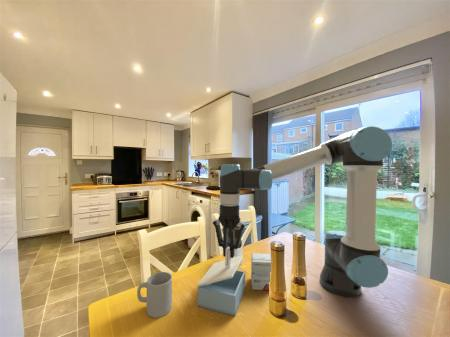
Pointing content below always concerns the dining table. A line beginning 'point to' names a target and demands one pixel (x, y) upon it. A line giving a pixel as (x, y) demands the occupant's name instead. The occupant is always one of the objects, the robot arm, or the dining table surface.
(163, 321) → the dining table surface
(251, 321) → the dining table surface
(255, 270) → the ink box
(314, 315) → the dining table surface
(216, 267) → the lid
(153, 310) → the mug
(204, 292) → the blue lidded box
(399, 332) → the dining table surface
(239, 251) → the jar
